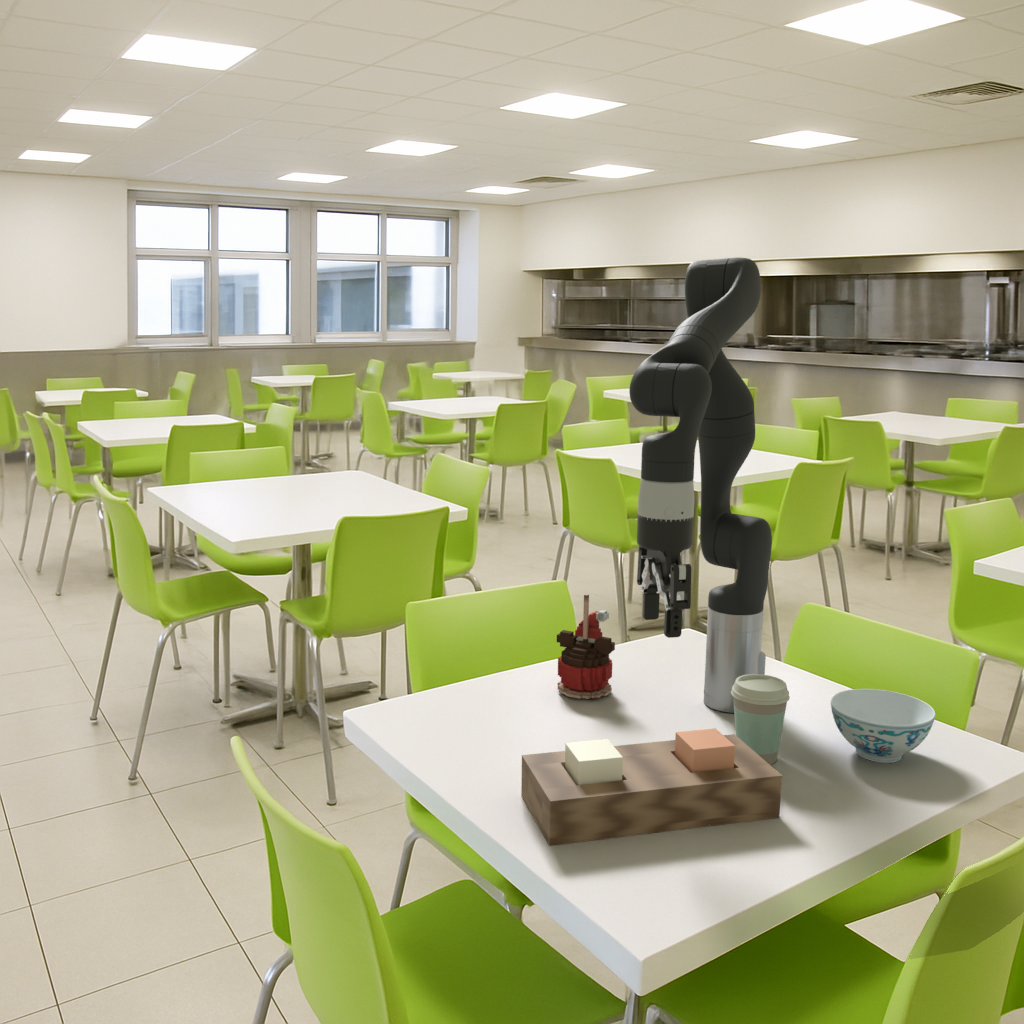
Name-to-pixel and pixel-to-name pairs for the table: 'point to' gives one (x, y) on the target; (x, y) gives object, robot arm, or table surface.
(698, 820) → the block
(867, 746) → the chinaware
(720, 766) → the terracotta key
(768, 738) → the coffee cup
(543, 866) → the table surface
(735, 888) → the table surface
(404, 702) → the table surface
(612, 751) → the cream key
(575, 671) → the cake
